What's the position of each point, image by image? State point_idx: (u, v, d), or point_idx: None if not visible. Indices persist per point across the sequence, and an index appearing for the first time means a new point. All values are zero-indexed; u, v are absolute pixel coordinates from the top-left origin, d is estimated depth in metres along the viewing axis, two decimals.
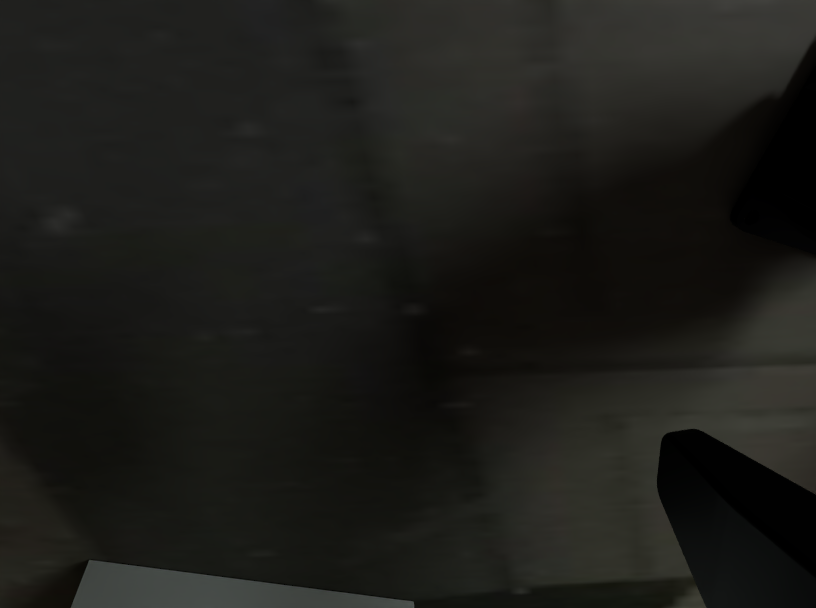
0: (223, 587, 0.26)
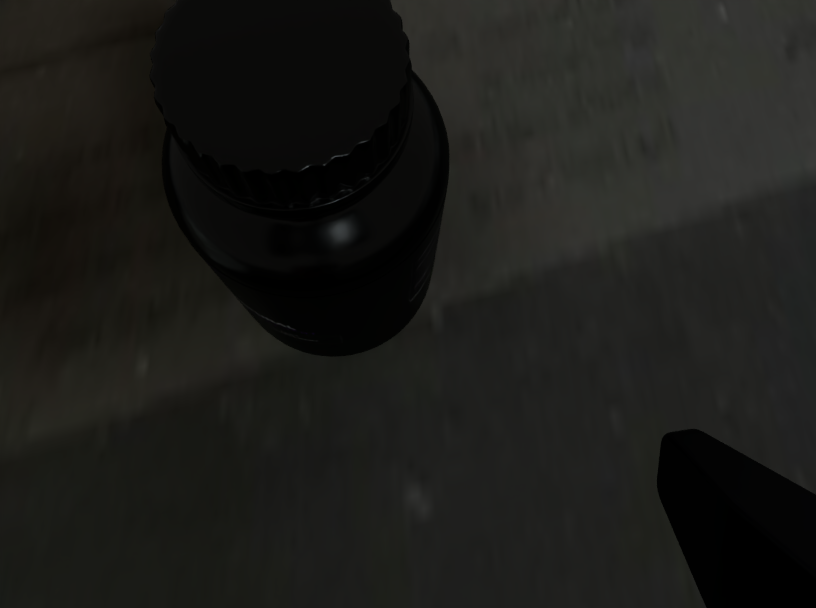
0: None
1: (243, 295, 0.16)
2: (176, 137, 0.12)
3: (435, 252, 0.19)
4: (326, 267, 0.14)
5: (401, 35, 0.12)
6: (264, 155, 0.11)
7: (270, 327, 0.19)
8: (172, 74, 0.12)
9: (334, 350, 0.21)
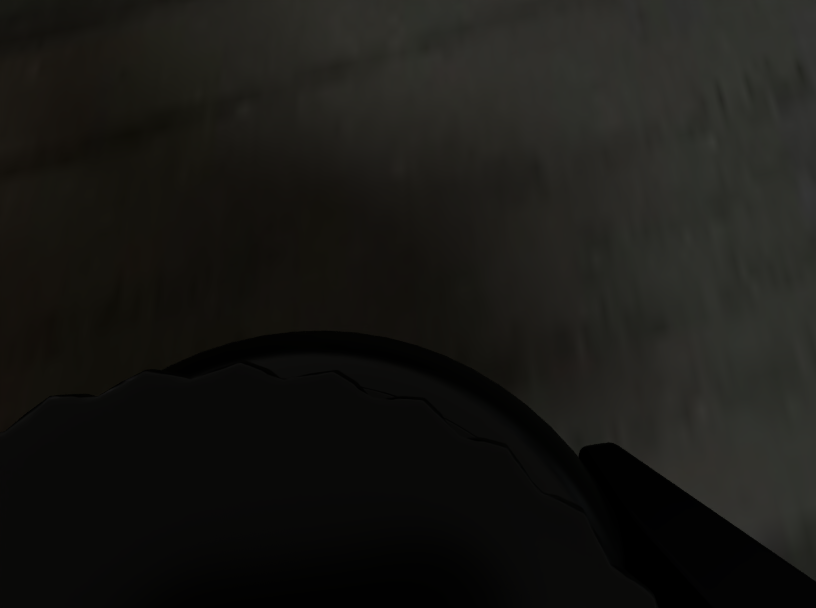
0: None
1: None
2: None
3: None
4: None
5: None
6: None
7: None
8: None
9: None
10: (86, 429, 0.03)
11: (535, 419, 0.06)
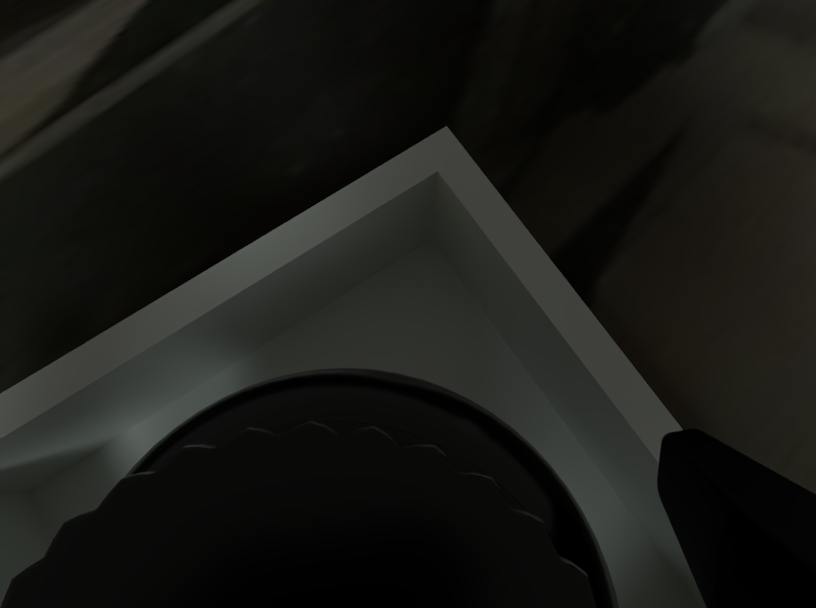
0: None
1: None
2: None
3: None
4: None
5: None
6: None
7: None
8: None
9: None
10: (209, 471, 0.05)
11: (519, 441, 0.08)
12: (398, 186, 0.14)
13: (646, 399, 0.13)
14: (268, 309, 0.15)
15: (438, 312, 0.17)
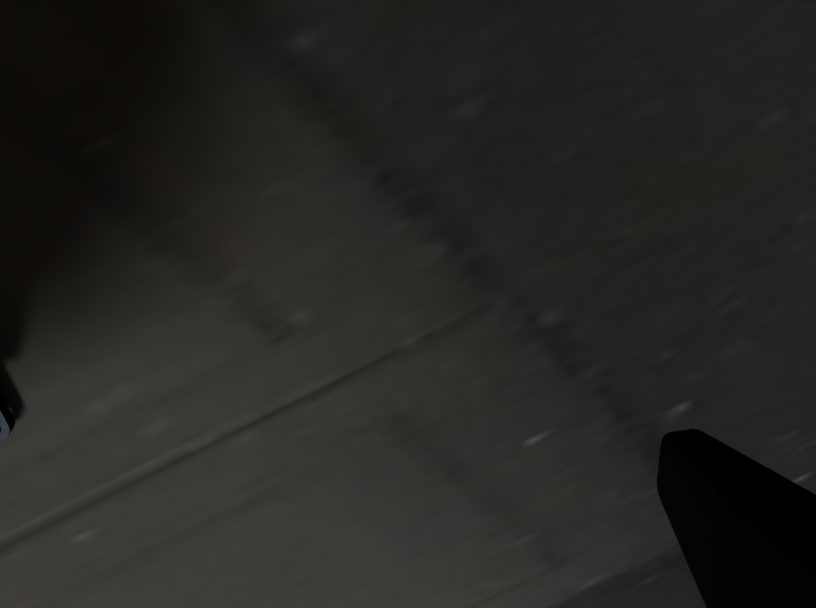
0: None
1: None
2: None
3: None
4: None
5: None
6: None
7: None
8: None
9: None
10: None
11: None
12: None
13: None
14: None
15: None
